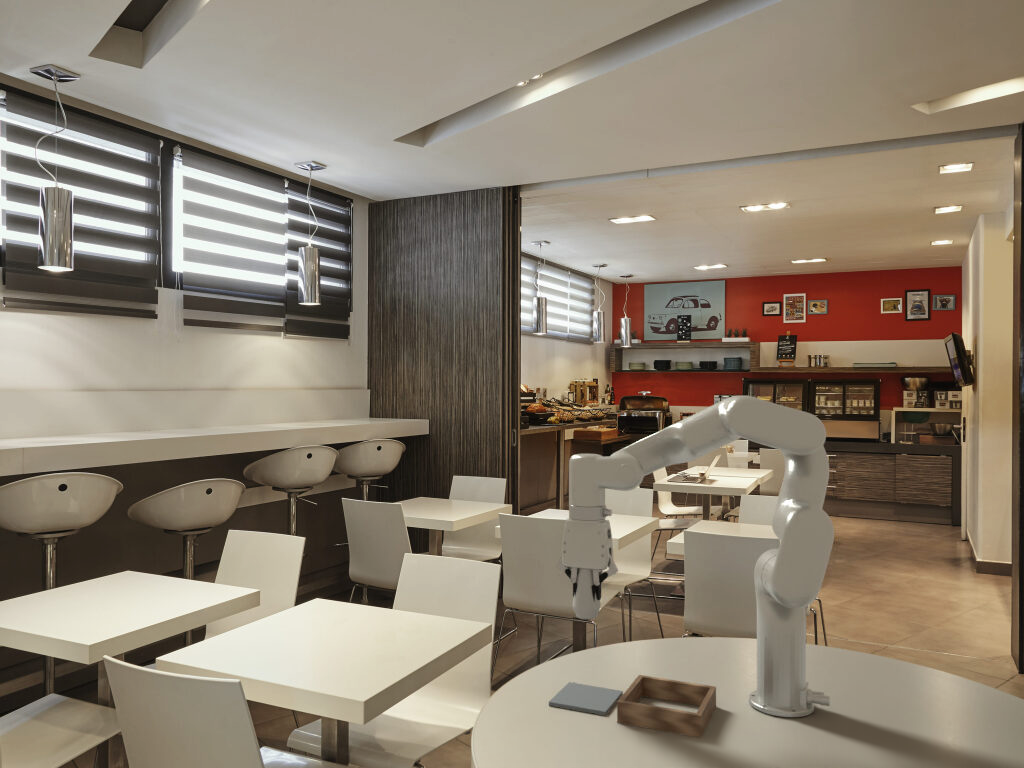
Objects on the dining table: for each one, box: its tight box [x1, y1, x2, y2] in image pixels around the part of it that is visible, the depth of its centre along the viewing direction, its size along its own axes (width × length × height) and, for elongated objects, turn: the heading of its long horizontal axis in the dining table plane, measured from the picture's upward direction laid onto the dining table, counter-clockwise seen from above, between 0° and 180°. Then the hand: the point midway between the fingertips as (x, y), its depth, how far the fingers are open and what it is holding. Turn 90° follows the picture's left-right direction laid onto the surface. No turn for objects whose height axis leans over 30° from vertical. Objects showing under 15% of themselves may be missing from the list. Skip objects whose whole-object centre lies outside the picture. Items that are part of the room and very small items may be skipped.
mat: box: [548, 681, 624, 717], centre depth 161 cm, size 12×12×1 cm
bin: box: [616, 674, 717, 739], centre depth 154 cm, size 16×16×4 cm
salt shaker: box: [572, 569, 601, 620], centre depth 162 cm, size 6×6×13 cm
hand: (586, 601), depth 162 cm, fingers closed on salt shaker, 3 cm apart
